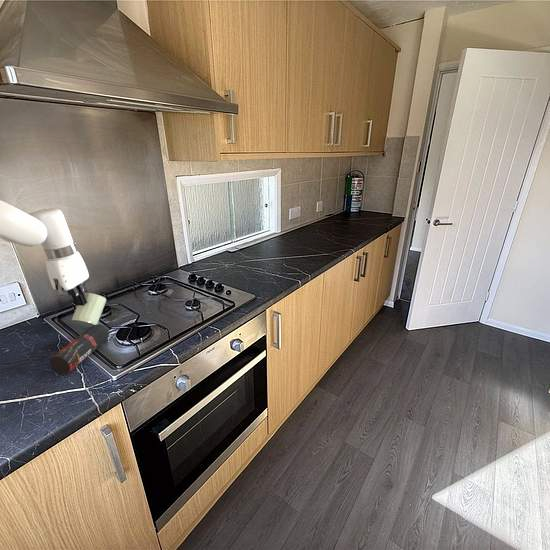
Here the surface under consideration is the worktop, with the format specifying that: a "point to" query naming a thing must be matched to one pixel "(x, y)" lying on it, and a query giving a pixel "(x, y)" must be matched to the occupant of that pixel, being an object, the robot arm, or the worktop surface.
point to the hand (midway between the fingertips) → (81, 304)
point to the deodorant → (79, 349)
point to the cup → (89, 310)
